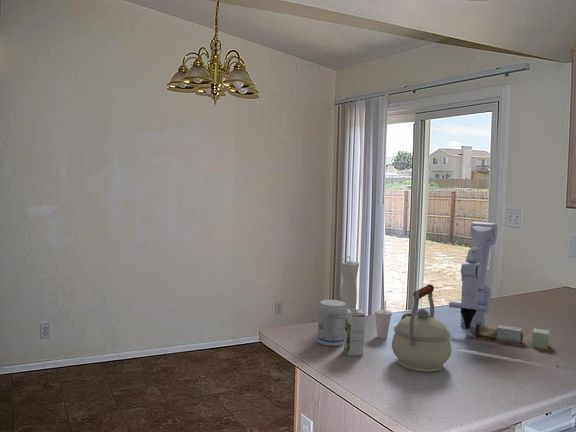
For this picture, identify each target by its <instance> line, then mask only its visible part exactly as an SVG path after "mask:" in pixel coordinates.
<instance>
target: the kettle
mask: <svg viewBox="0 0 576 432" xmlns="http://www.w3.org/2000/svg"><path fill="white" fill-rule="evenodd" d="M434 291H435V287H434V285H432V284H427V285H426V286H423V287H421V288H419V289H418V290H415V291H414V292H413V295H412V296H413V297H414V299H413V300H414V301H413V302H414V303H413V306H412V311H411V313H412V314H411V316H409V317H406V318H403V319H402V320H401V319H400V320H399V321H398V323H397V324H396V326H394V327H393V331H394V334H393V337H392V342H391V350H392V352H393V354H394V355H395V357H396V358H397V363H398V365H400V366H401V367H403V368H405V369H407V370H411V371H415V372H422V373H433V372H435V373H436V372H438V371H440V370H442V369H443V368H444V364H446V362H447V361H448V360H449V359H450V358H451V355H452V345H451V339H450V338H451V336H452V333H451V332H450V331H449V330H448V328H447V326H446V325H445V324H444V323H443V322H442V321H440V320H438V319H437V318H435V303H434V298H433V292H434ZM426 296H427V298H428V303H429V312H428V311H427V310H425V308H422V309H419V306H420V305H419V304H420V299H421V298H424V297H426ZM418 309H419V310H418ZM416 314H417V315H418V316H416ZM428 316H430V317H428ZM434 318H435V319H434Z"/></svg>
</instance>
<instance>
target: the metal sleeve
mask: <svg viewBox="0 0 576 432" xmlns="http://www.w3.org/2000/svg"><path fill="white" fill-rule="evenodd" d="M521 331H523V327H516V326H515V327H514V326H507V325H504V324H503V325H502V324H498V325H497V341H503V342H509V343H515V344H520V343H521V341H520V338H521Z"/></svg>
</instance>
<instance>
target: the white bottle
mask: <svg viewBox="0 0 576 432" xmlns="http://www.w3.org/2000/svg"><path fill="white" fill-rule="evenodd" d="M347 258H348V259H349V260H346V259H347ZM351 258H352V257H351V256H345V257H344V258H342V260H341V262H340V267H341V268H340V271H341V279H342V280H341V281H342V282H341V288H340V296H339V301H342V302H345V303H346V309H357V302H358V301H357V300H358V299H357V298H358V291H357V282H356V281H357V276H358V273H359V268H360V262H359V261H353V260H351ZM344 260H346V262H344ZM345 318H346V317H345Z"/></svg>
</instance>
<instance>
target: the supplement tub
mask: <svg viewBox="0 0 576 432" xmlns="http://www.w3.org/2000/svg"><path fill="white" fill-rule="evenodd" d="M345 317H346V303H345V302H342V301H340V300H337V299H323V300H320V302H319V306H318V322H317V324H318V326H317V327H318V328H317V342H318V343H319V344H320V345H323V346H327V347H339V346H342V345H344V334H345Z"/></svg>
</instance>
